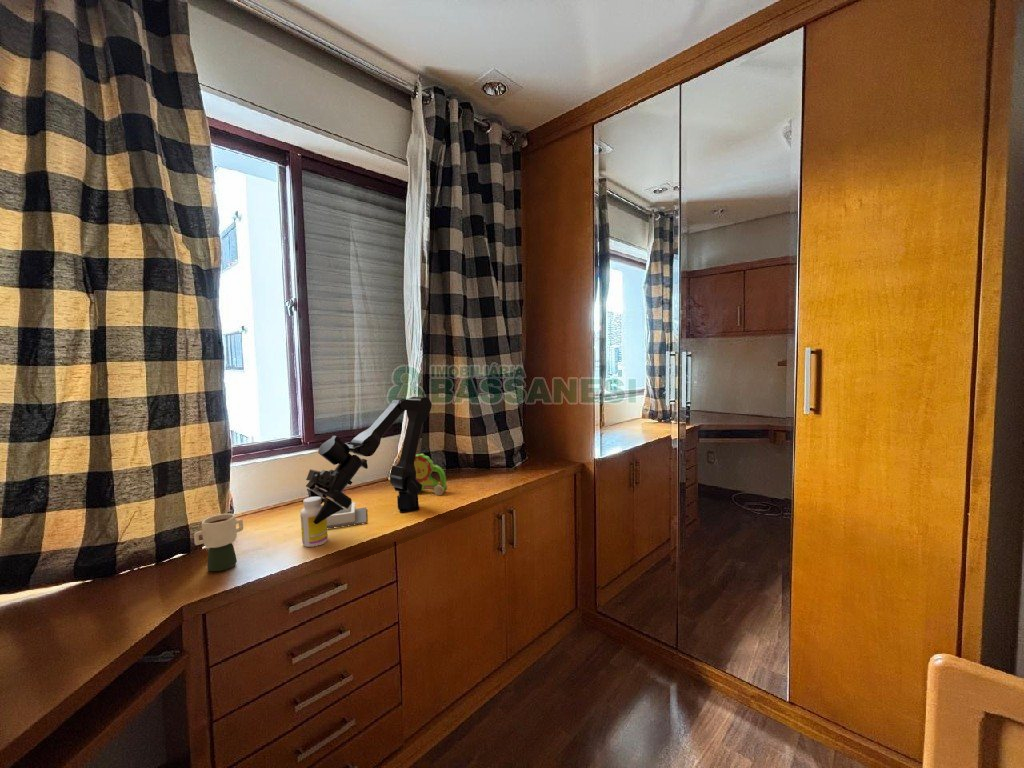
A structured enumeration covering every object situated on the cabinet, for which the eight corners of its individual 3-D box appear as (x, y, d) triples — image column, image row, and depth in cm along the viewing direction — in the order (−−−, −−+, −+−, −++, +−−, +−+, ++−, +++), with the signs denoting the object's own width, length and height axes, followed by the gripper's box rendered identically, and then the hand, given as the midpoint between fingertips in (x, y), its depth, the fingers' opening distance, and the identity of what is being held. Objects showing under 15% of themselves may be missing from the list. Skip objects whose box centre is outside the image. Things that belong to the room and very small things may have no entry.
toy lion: (448, 491, 165) (446, 453, 164) (442, 496, 160) (441, 456, 159) (410, 489, 169) (409, 452, 168) (404, 494, 163) (402, 455, 162)
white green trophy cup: (239, 555, 115) (236, 509, 115) (251, 562, 111) (248, 514, 110) (191, 573, 107) (187, 522, 106) (203, 581, 102) (198, 528, 102)
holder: (366, 508, 149) (365, 498, 148) (366, 523, 135) (365, 512, 135) (309, 516, 143) (309, 506, 143) (304, 532, 130) (303, 521, 129)
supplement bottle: (333, 539, 124) (330, 496, 124) (315, 549, 118) (312, 503, 117) (314, 536, 127) (312, 494, 126) (297, 546, 120) (293, 501, 119)
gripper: (310, 453, 130) (273, 498, 123) (338, 462, 117) (299, 513, 110) (337, 473, 136) (304, 517, 129) (366, 484, 124) (331, 533, 116)
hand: (308, 519), depth 121 cm, fingers open, 8 cm apart
